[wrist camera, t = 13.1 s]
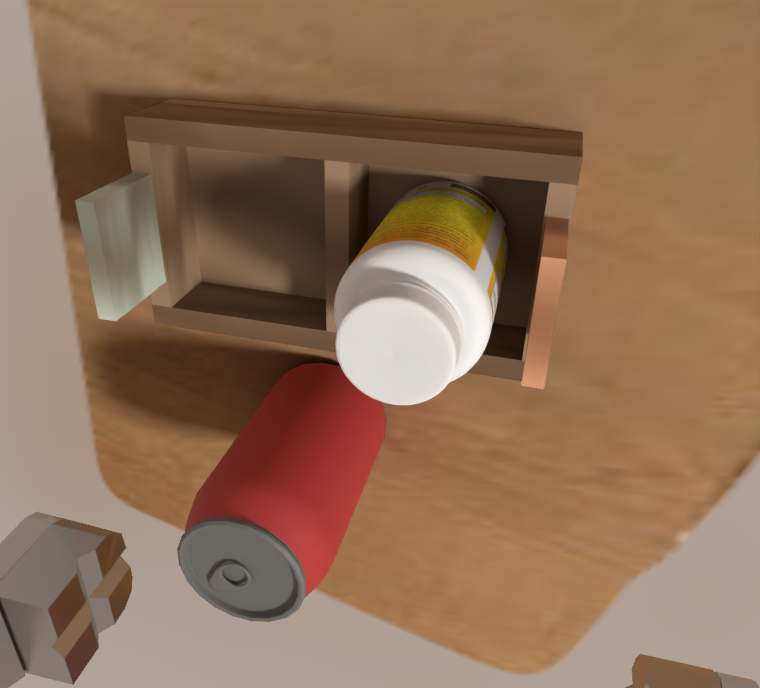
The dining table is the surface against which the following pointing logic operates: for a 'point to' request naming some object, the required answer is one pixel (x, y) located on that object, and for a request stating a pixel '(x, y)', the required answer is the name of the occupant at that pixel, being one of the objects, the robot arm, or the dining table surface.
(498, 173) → the wooden compartment tray
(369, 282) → the supplement bottle
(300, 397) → the beer can
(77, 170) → the dining table surface
